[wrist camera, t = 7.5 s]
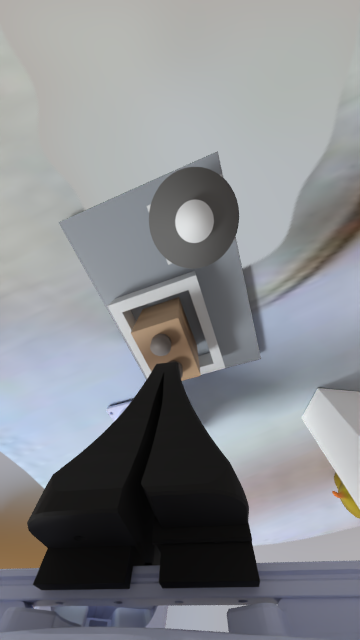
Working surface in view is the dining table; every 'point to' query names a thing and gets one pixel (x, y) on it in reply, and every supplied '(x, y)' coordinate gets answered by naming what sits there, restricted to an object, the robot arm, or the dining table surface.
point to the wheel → (193, 217)
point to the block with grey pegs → (167, 338)
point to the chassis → (163, 278)
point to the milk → (338, 433)
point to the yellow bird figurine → (346, 497)
